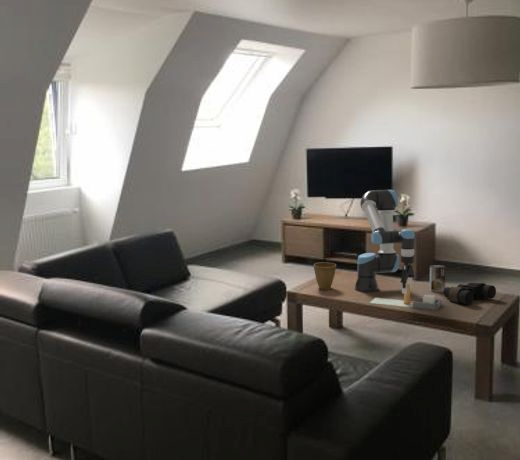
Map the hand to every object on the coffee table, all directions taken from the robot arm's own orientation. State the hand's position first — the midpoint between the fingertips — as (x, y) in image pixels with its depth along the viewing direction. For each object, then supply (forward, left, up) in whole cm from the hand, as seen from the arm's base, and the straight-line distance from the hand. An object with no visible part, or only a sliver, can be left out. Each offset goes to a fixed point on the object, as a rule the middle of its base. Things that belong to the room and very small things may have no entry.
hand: (407, 290), depth 366 cm
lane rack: (-1, 0, -9) cm, 9 cm away
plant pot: (-59, +18, -9) cm, 63 cm away
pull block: (+7, 0, -8) cm, 11 cm away
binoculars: (+30, +25, -9) cm, 40 cm away
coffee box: (+10, +39, -9) cm, 41 cm away
